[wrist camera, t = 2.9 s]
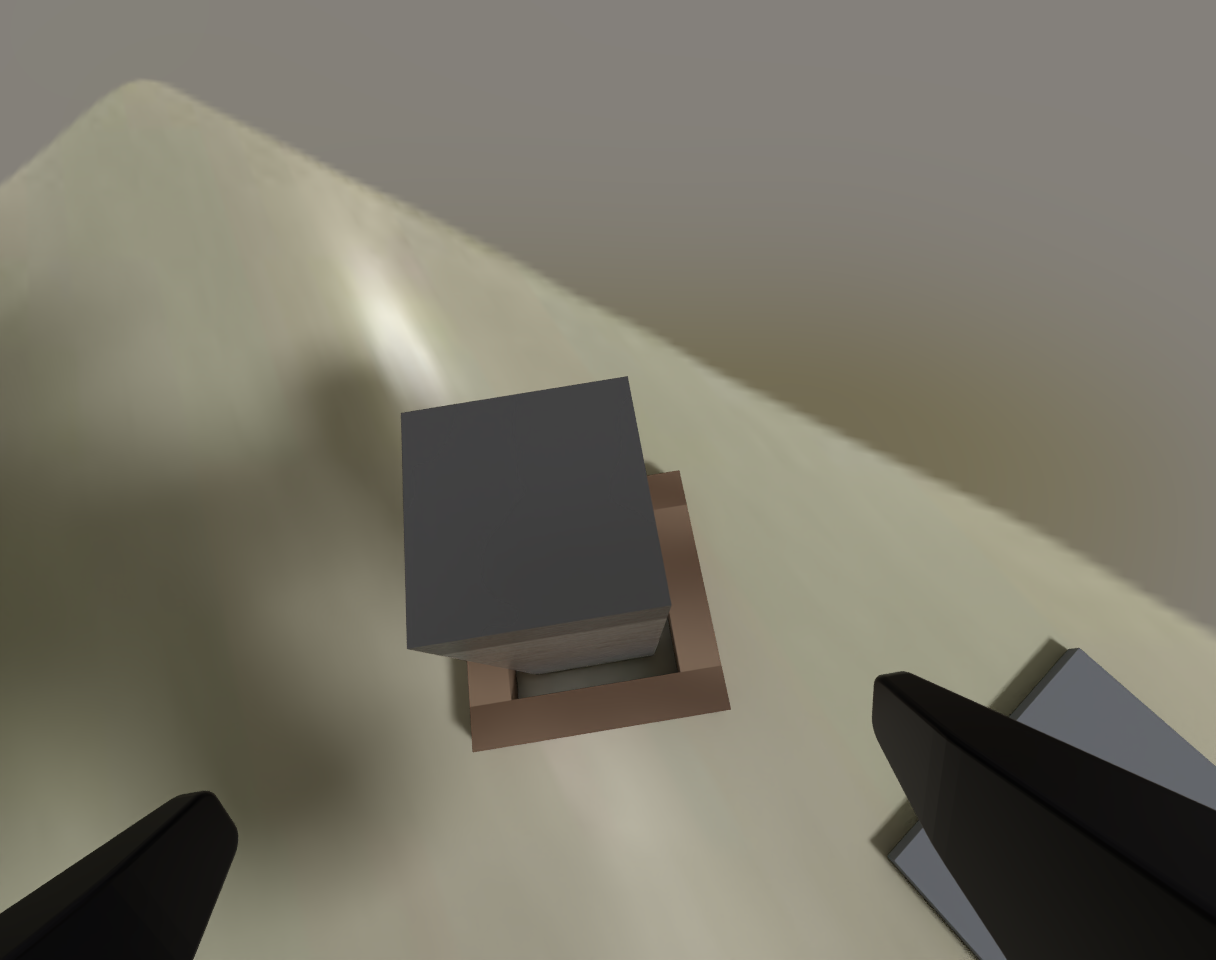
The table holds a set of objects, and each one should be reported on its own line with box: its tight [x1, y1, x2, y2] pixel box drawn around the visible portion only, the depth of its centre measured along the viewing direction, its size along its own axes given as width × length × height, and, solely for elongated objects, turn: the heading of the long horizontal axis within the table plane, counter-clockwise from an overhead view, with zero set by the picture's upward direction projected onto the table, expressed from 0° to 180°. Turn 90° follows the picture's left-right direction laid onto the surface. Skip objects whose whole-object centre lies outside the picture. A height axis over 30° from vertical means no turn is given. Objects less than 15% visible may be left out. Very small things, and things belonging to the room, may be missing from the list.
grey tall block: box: [401, 376, 672, 675], centre depth 15 cm, size 4×4×12 cm
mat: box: [887, 648, 1216, 960], centre depth 16 cm, size 9×9×1 cm
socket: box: [467, 470, 731, 752], centre depth 19 cm, size 8×8×1 cm
